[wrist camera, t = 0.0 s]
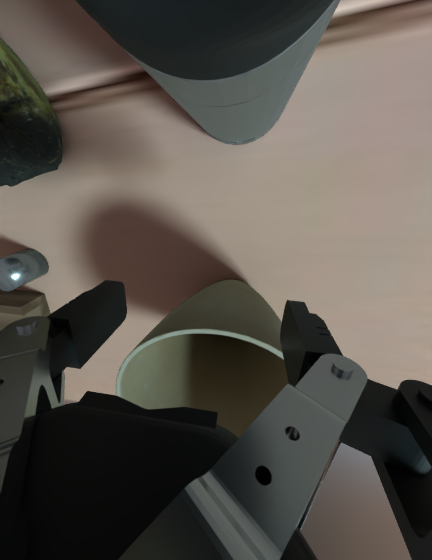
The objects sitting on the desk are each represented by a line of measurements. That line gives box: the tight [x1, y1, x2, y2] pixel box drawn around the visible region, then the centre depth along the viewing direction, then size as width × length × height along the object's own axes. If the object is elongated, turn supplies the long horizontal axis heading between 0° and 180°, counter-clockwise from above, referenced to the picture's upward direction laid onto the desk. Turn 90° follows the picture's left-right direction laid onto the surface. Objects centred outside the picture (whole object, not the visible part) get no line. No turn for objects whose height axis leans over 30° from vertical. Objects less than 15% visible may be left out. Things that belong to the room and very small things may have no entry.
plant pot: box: [116, 280, 289, 438], centre depth 24 cm, size 15×15×16 cm
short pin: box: [0, 249, 49, 291], centre depth 30 cm, size 4×4×5 cm
